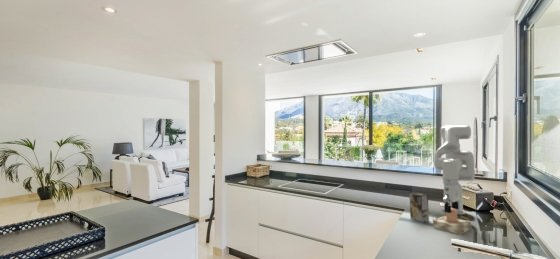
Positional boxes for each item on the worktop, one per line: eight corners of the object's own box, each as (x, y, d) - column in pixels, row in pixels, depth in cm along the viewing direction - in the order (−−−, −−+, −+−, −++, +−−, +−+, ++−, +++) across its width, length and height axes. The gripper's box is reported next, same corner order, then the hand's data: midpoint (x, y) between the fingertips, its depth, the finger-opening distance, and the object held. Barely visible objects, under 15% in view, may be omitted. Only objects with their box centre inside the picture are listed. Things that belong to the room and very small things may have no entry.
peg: (446, 227, 147) (446, 208, 148) (449, 226, 150) (449, 207, 150) (454, 229, 144) (453, 210, 144) (457, 228, 146) (457, 209, 146)
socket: (433, 227, 149) (433, 220, 149) (444, 222, 157) (444, 215, 157) (460, 234, 137) (460, 227, 137) (471, 228, 145) (471, 221, 145)
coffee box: (429, 220, 159) (428, 195, 160) (422, 222, 157) (421, 196, 157) (416, 216, 168) (415, 192, 168) (409, 218, 165) (409, 193, 165)
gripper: (451, 184, 140) (452, 215, 140) (464, 180, 149) (465, 208, 149) (436, 182, 146) (437, 212, 146) (450, 178, 155) (451, 205, 156)
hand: (451, 210), depth 148 cm, fingers open, 9 cm apart
